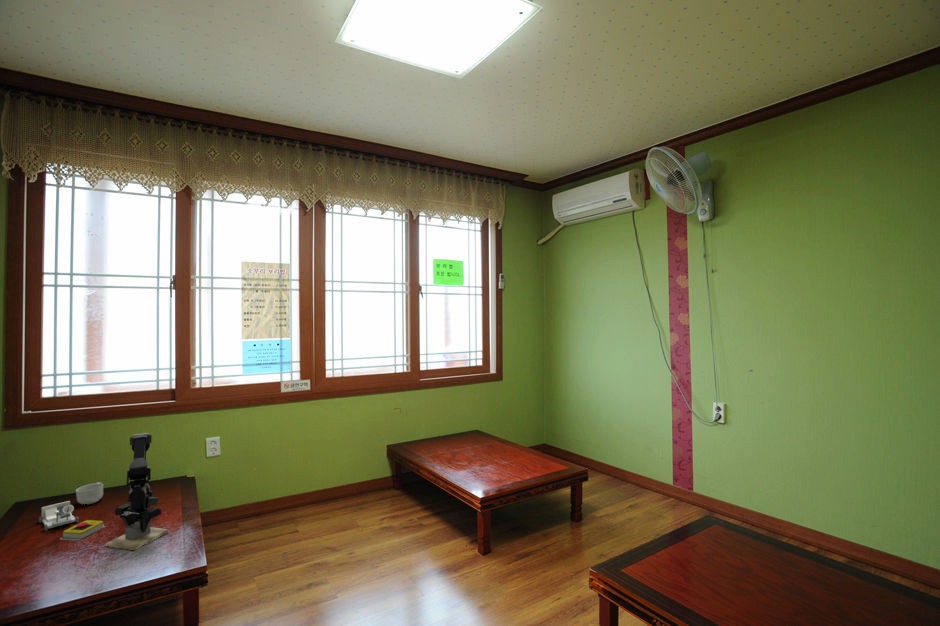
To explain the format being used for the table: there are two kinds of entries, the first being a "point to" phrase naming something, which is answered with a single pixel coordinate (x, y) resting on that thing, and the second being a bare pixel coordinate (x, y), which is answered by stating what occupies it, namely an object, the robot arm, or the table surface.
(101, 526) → the emergency button
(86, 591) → the table surface
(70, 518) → the white mechanical fixture
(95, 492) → the teacup
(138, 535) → the grey open bin
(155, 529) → the switch plate
